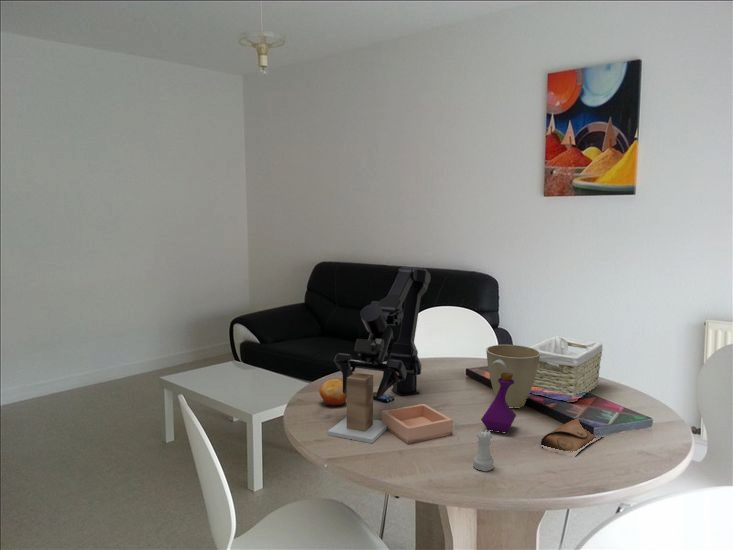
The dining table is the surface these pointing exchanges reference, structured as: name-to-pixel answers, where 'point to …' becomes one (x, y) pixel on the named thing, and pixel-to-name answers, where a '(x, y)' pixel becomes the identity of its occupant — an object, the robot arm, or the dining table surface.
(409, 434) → the box
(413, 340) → the robot arm
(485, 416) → the perfume bottle
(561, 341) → the storage basket
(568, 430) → the sunglasses case
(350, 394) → the walnut block
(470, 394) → the dining table surface
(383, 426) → the light grey board
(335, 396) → the fruit
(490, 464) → the rook chess piece
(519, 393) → the plant pot
